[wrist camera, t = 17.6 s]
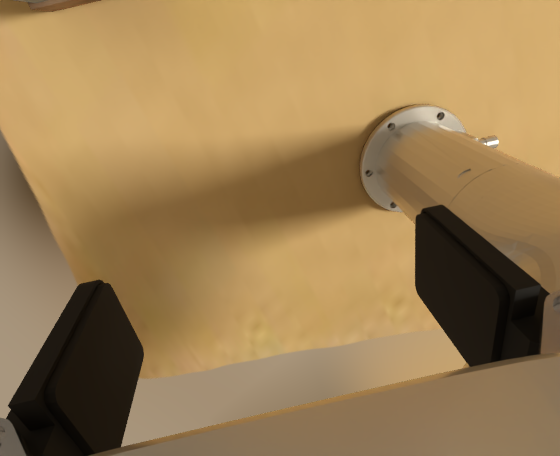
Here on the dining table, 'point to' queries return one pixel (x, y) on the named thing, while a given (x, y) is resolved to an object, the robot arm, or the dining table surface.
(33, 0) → the slate top block
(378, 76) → the dining table surface
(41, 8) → the walnut base block
